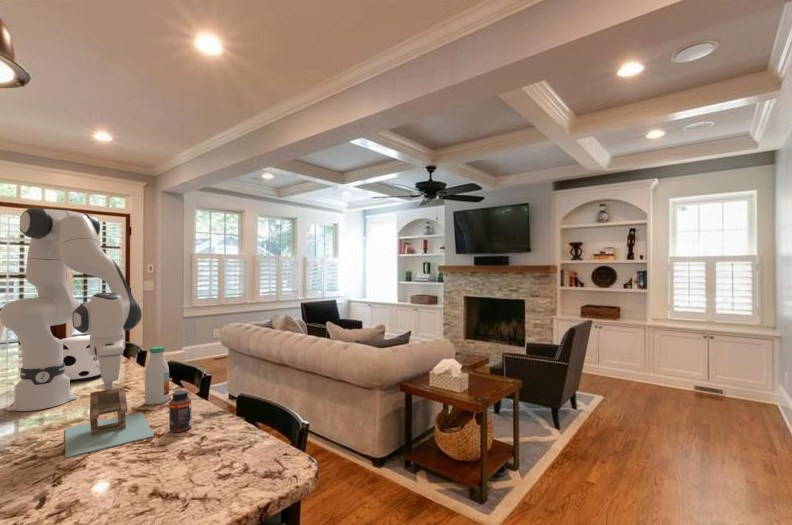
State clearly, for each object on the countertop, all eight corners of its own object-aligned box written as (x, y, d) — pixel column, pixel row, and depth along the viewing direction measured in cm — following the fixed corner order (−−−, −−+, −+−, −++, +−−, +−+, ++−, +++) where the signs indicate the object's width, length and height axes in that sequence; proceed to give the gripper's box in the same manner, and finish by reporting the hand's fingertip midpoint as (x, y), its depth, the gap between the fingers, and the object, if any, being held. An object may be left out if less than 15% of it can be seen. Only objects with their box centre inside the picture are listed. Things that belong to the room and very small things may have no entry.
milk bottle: (157, 406, 141) (157, 350, 141) (139, 404, 143) (139, 349, 143) (174, 399, 149) (174, 345, 149) (156, 397, 150) (156, 345, 150)
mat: (65, 429, 121) (65, 428, 121) (142, 413, 134) (142, 412, 134) (65, 458, 103) (65, 456, 103) (154, 436, 116) (154, 435, 116)
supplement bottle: (195, 426, 123) (195, 390, 123) (179, 434, 117) (179, 396, 117) (181, 424, 125) (181, 388, 125) (164, 431, 119) (164, 394, 119)
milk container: (113, 376, 180) (113, 336, 180) (65, 386, 165) (65, 343, 165) (96, 371, 189) (96, 333, 189) (50, 380, 174) (50, 339, 175)
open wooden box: (89, 412, 121) (90, 392, 118) (122, 406, 127) (124, 387, 124) (91, 435, 116) (91, 415, 112) (125, 427, 121) (127, 408, 118)
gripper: (93, 342, 128) (93, 384, 128) (97, 352, 113) (97, 400, 113) (116, 339, 132) (116, 381, 132) (123, 348, 117) (124, 395, 117)
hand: (108, 390), depth 122 cm, fingers closed
